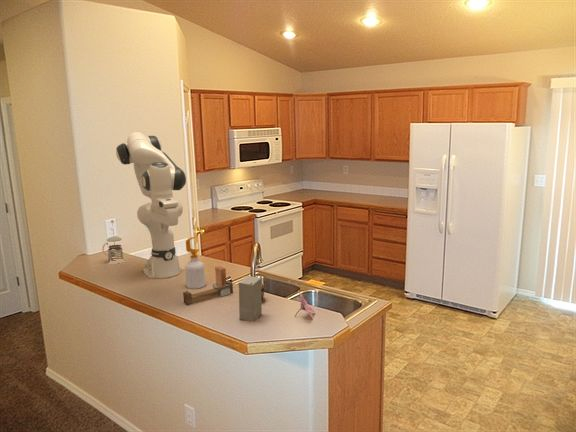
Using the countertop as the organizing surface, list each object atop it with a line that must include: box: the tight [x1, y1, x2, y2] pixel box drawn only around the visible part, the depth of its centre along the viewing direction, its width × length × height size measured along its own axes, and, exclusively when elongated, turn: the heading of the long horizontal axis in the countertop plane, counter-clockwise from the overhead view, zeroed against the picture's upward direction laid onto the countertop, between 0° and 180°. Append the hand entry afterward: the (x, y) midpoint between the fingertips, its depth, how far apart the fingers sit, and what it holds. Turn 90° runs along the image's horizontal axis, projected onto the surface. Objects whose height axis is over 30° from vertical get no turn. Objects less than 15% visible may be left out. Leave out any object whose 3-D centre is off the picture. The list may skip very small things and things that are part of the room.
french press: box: [102, 219, 124, 261], centre depth 266 cm, size 10×12×25 cm
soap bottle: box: [184, 235, 206, 289], centre depth 221 cm, size 9×9×25 cm
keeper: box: [212, 266, 231, 298], centre depth 210 cm, size 7×5×12 cm
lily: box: [294, 290, 316, 320], centre depth 182 cm, size 12×12×10 cm
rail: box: [182, 280, 234, 306], centre depth 206 cm, size 4×23×5 cm, turn 129°
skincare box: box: [238, 275, 263, 322], centre depth 183 cm, size 8×7×16 cm
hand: (164, 233), depth 197 cm, fingers closed
